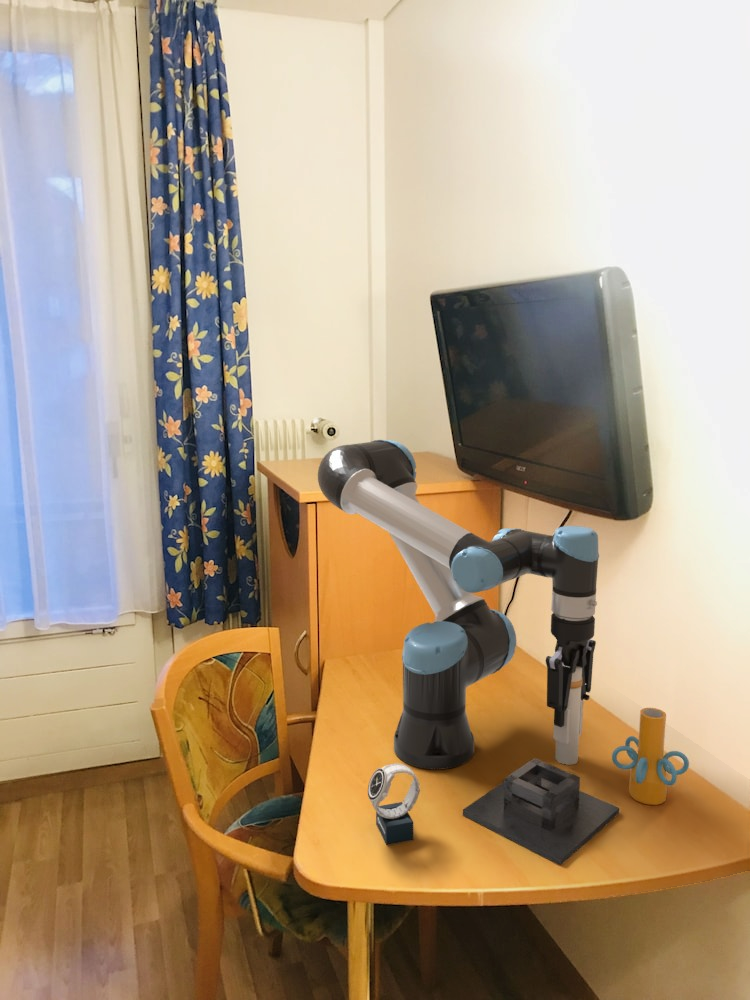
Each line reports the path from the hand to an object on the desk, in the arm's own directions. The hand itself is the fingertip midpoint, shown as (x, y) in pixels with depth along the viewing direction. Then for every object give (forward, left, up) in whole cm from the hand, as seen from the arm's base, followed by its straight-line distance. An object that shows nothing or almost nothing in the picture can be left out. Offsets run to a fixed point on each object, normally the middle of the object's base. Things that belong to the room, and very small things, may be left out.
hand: (567, 736), depth 141 cm
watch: (-8, -38, -5) cm, 39 cm away
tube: (0, 0, -5) cm, 5 cm away
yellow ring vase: (+16, -1, -5) cm, 17 cm away
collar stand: (+6, -18, -5) cm, 20 cm away
